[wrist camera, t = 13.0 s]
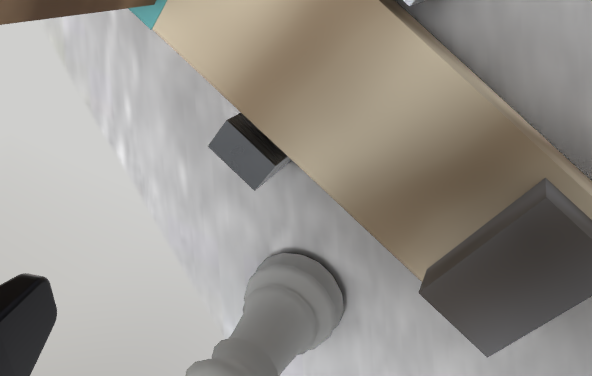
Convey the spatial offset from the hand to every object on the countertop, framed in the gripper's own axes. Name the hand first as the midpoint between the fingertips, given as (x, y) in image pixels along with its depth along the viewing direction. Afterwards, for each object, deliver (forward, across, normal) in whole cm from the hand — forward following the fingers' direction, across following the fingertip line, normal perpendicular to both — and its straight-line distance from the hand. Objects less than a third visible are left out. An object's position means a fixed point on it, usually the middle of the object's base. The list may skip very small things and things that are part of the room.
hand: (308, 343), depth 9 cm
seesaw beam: (+13, +1, 0) cm, 13 cm away
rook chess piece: (+12, +1, +11) cm, 16 cm away
